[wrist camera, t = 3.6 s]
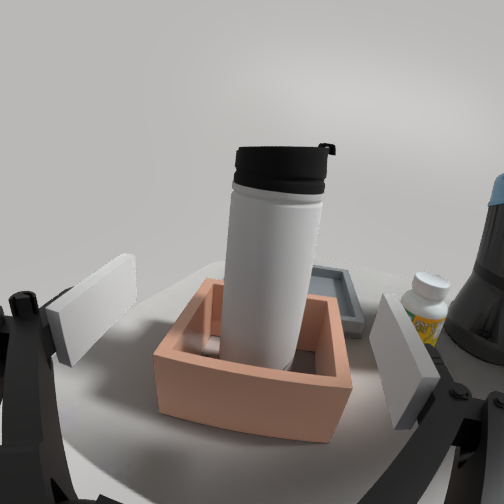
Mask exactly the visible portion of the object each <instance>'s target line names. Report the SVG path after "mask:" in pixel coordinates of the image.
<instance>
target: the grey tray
mask: <svg viewBox="0 0 504 504" xmlns="http://www.w3.org/2000/svg"><path fill="white" fill-rule="evenodd" d="M307 294H313V295H320V296H327V297H334V298H337V303H338V308H339V313H340V318H341V323H342V328H343V334H344V337H348V338H357V339H361V336H362V333H363V329H364V326H365V320H364V316H363V313H362V310H361V307H360V304H359V301H358V298H357V295H356V292H355V289H354V286H353V283H352V280H351V277H350V274H349V272H348V270H343V269H337V268H330V267H323V266H316V265H313V267H312V272H311V278H310V283H309V288H308V293H307Z"/></svg>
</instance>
